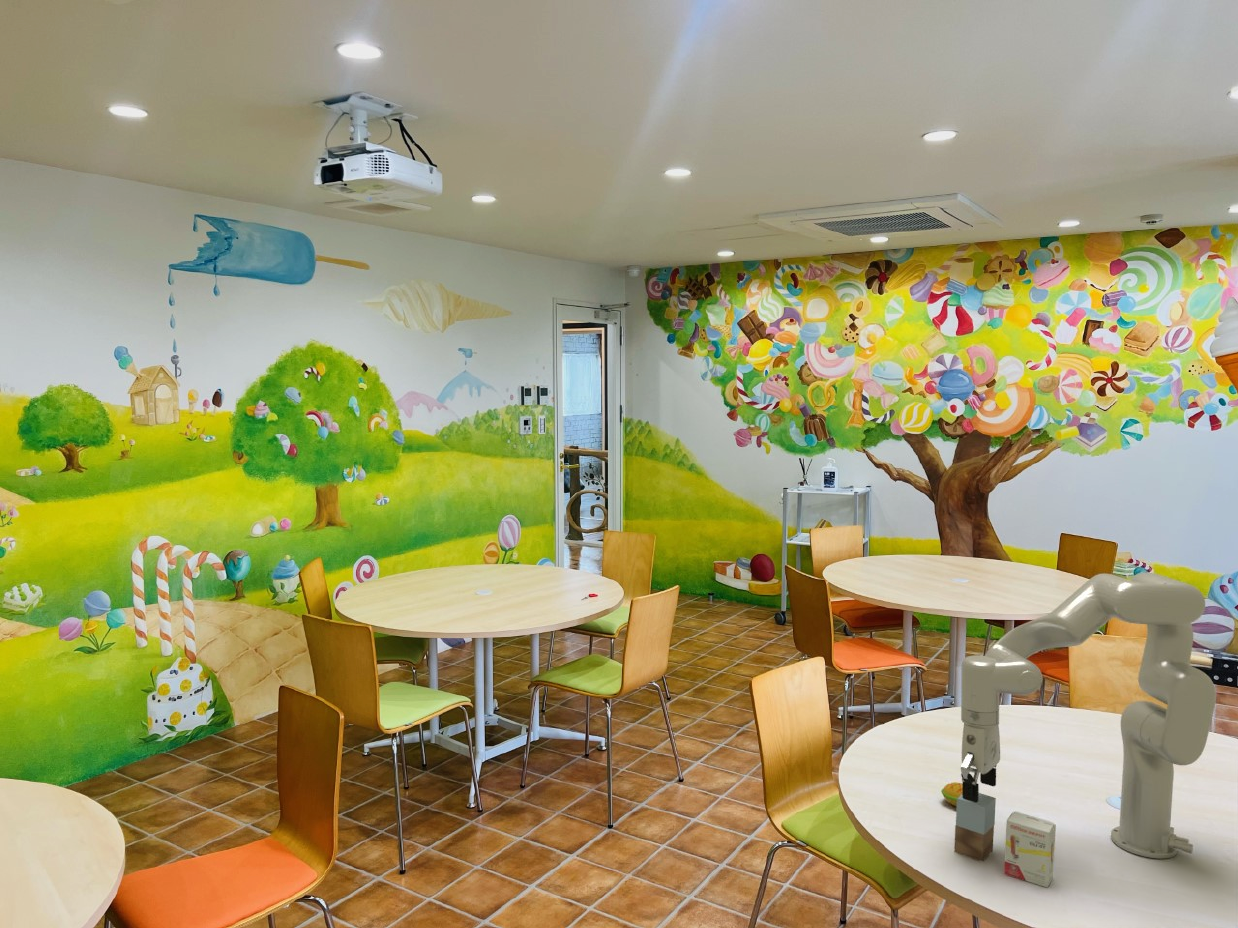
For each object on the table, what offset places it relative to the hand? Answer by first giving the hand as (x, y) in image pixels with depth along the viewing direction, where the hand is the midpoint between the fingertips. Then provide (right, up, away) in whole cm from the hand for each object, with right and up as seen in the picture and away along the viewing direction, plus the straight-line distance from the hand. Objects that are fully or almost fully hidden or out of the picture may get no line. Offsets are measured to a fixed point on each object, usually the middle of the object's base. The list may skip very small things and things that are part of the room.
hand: (979, 792), depth 191 cm
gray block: (-1, -7, +1) cm, 7 cm away
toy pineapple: (+5, -12, +22) cm, 25 cm away
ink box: (+7, -14, -9) cm, 18 cm away
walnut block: (-1, -13, +1) cm, 13 cm away
